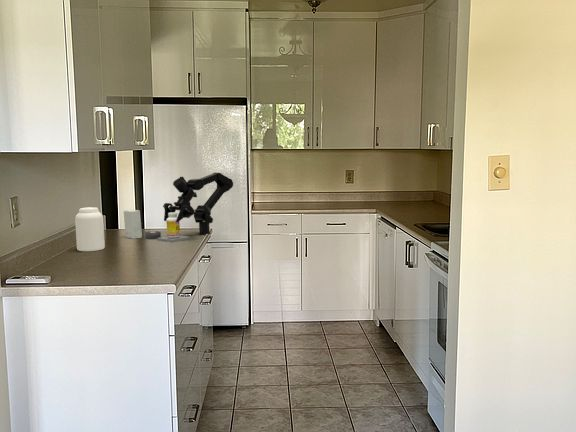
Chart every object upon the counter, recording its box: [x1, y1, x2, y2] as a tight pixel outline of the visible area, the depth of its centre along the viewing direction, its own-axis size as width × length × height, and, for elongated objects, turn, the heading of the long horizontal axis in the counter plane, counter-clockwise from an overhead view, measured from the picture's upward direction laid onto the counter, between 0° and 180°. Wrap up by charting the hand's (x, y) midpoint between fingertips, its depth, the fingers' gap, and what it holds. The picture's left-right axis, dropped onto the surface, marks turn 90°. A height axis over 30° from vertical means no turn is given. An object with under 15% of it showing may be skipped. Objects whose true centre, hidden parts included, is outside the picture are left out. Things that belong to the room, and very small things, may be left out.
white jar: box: [74, 206, 106, 253], centre depth 256 cm, size 12×12×20 cm
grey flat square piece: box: [156, 235, 191, 243], centre depth 282 cm, size 12×12×1 cm
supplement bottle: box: [166, 211, 181, 238], centre depth 281 cm, size 7×7×13 cm
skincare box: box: [123, 209, 143, 240], centre depth 289 cm, size 8×6×15 cm
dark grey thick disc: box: [144, 230, 162, 240], centre depth 288 cm, size 8×8×3 cm
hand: (170, 221), depth 280 cm, fingers open, 9 cm apart
